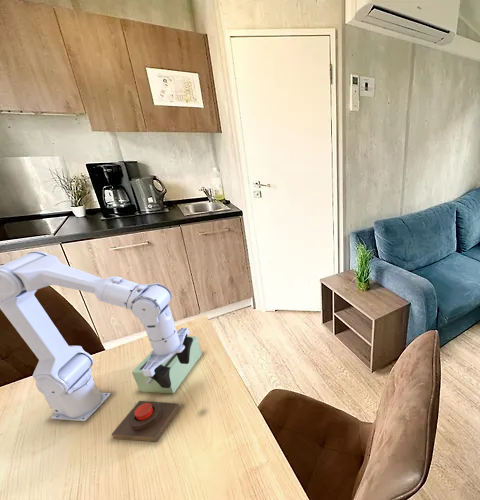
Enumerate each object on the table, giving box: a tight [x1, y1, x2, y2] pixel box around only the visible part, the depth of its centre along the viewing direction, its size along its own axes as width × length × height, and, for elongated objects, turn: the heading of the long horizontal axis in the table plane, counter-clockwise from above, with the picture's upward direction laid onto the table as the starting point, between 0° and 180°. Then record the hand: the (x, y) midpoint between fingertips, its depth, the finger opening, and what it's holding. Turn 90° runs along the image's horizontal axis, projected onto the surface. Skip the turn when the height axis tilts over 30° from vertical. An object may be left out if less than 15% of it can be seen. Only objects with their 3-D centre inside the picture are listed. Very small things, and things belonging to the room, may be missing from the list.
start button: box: [134, 403, 154, 421], centre depth 71 cm, size 4×4×2 cm
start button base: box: [111, 400, 181, 443], centre depth 72 cm, size 11×9×4 cm
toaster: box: [131, 335, 203, 394], centre depth 85 cm, size 10×17×8 cm, turn 176°
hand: (176, 374), depth 74 cm, fingers open, 7 cm apart
